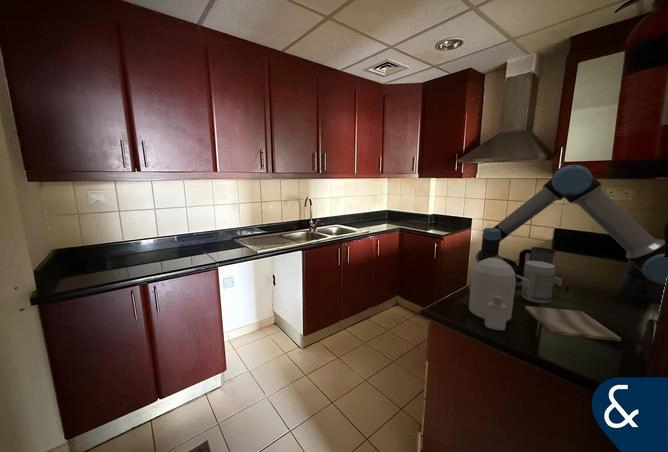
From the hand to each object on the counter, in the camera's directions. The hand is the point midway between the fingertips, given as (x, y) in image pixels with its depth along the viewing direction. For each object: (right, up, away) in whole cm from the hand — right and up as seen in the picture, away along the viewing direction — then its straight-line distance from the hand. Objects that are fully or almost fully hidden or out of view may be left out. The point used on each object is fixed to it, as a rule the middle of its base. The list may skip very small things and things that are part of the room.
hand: (545, 283), depth 102 cm
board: (-3, -10, -14) cm, 17 cm away
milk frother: (+14, -4, +26) cm, 30 cm away
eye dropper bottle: (-30, -11, -17) cm, 36 cm away
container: (-25, -9, -6) cm, 28 cm away
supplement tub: (-1, -8, +5) cm, 9 cm away
